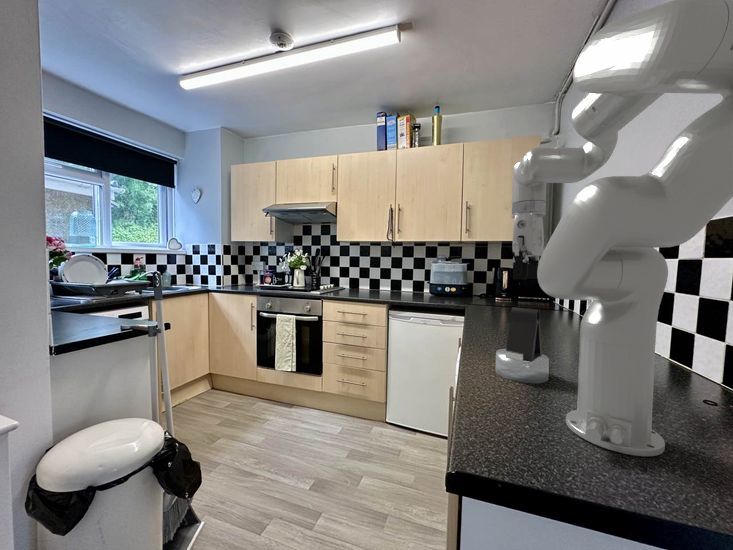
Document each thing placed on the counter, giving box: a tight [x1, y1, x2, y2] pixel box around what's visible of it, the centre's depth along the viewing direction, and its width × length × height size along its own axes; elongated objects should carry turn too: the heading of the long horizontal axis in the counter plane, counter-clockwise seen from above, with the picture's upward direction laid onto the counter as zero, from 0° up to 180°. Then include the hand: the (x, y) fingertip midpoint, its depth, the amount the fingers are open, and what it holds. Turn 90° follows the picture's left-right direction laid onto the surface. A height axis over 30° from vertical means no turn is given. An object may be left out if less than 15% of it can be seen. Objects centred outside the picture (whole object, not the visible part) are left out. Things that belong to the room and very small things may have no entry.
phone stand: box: [505, 306, 543, 362], centre depth 77 cm, size 9×6×12 cm, turn 135°
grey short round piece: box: [495, 348, 550, 384], centre depth 78 cm, size 12×12×7 cm
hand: (526, 278), depth 77 cm, fingers open, 9 cm apart
